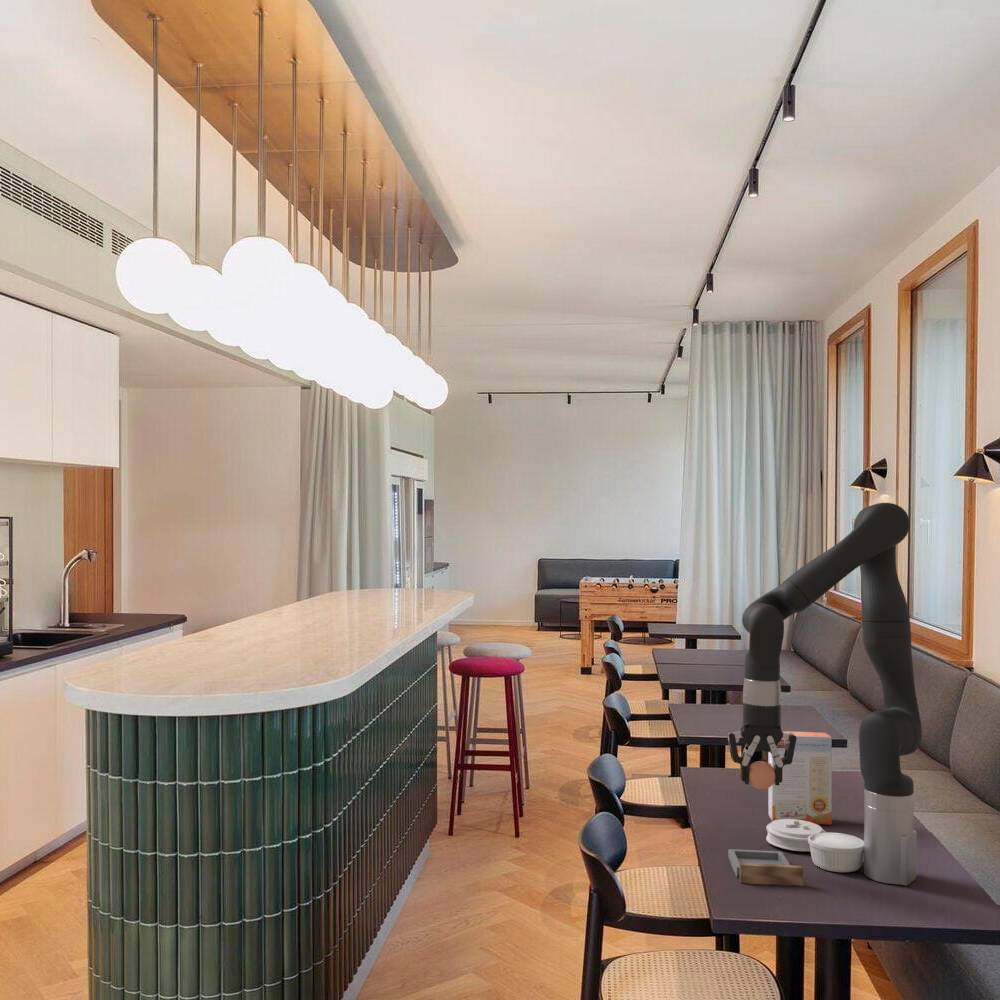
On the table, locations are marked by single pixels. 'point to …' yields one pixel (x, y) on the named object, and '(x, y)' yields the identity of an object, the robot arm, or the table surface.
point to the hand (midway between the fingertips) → (761, 783)
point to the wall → (771, 874)
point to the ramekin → (836, 851)
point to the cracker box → (804, 780)
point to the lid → (791, 833)
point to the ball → (761, 775)
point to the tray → (754, 858)
